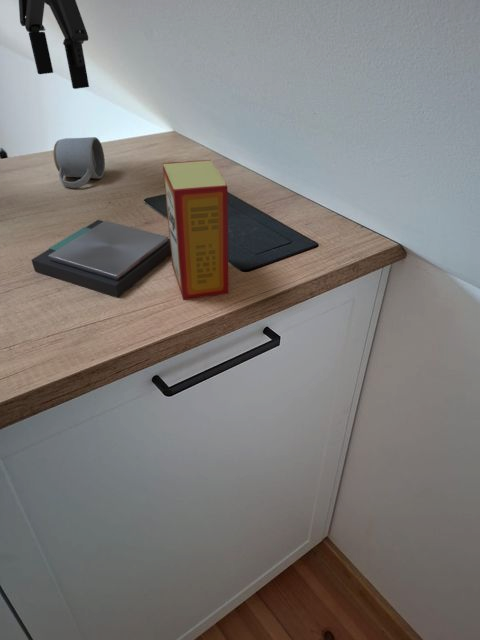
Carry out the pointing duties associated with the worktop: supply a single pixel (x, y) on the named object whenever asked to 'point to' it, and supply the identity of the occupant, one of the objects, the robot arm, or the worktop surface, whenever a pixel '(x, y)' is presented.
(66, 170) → the ceramic mug
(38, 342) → the worktop surface
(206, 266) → the baking soda box
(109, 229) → the scale pan
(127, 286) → the scale
